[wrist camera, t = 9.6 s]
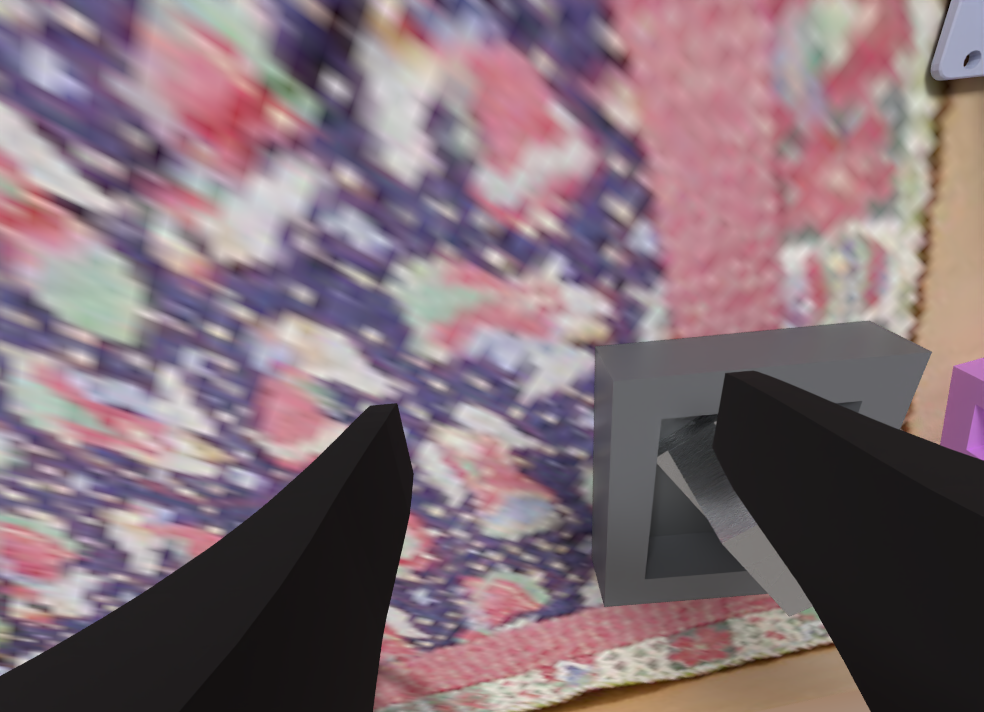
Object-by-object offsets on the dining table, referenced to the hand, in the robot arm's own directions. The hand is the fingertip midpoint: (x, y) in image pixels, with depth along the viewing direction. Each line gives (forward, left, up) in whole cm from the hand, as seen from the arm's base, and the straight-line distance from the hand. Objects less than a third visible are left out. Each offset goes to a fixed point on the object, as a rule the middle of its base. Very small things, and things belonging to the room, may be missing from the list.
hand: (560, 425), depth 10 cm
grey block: (-9, +10, -9) cm, 16 cm away
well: (-9, +10, -9) cm, 16 cm away
